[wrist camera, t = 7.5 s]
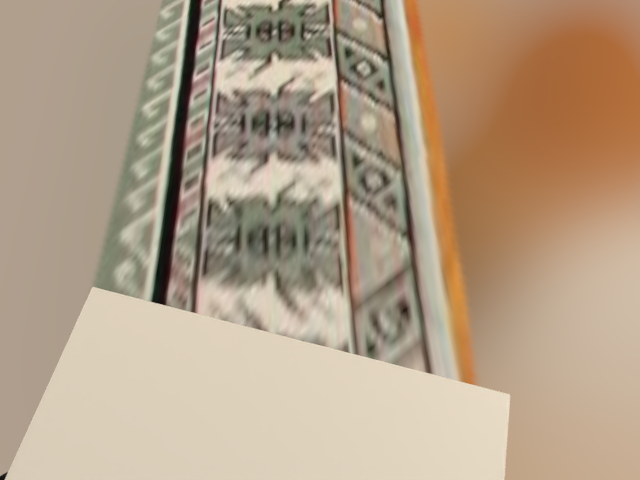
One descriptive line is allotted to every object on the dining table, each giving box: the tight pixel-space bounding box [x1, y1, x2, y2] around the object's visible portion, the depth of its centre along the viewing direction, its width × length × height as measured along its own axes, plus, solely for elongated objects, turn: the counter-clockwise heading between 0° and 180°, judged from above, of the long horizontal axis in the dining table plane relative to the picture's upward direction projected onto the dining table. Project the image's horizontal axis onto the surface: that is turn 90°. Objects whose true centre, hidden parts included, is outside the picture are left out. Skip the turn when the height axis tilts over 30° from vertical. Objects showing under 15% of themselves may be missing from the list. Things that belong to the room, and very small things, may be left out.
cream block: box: [5, 287, 510, 480], centre depth 9 cm, size 5×5×12 cm
